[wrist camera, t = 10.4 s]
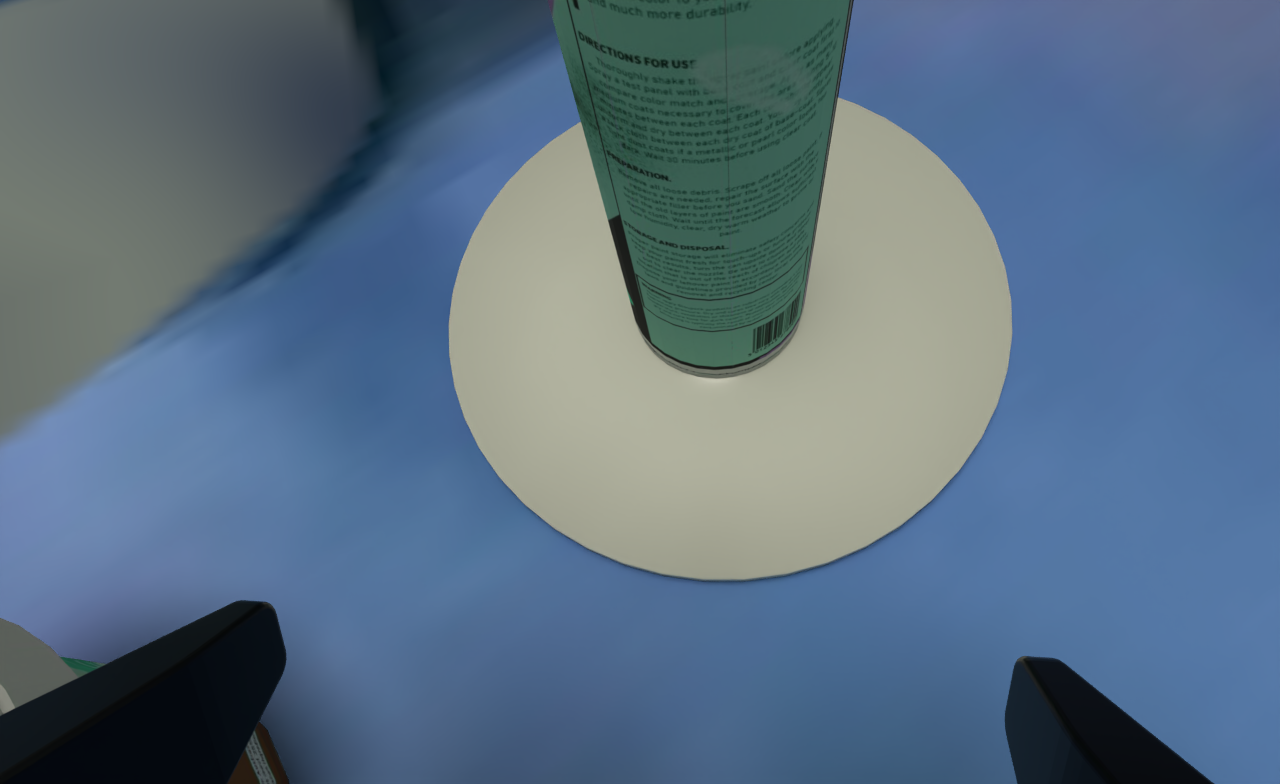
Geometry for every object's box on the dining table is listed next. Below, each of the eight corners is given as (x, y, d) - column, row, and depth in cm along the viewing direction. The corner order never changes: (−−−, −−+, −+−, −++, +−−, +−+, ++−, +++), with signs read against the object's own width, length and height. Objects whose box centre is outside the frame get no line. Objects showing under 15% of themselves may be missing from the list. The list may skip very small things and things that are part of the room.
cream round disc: (1133, 311, 23) (1142, 302, 23) (696, 721, 21) (695, 722, 20) (732, 18, 30) (732, 5, 29) (358, 299, 27) (350, 291, 26)
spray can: (818, 245, 25) (1042, -1045, 7) (783, 396, 23) (956, -806, 5) (658, 217, 26) (465, -942, 8) (613, 359, 24) (216, -718, 6)
